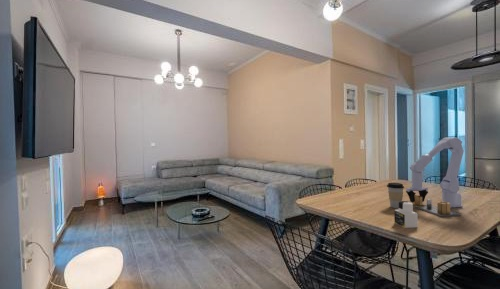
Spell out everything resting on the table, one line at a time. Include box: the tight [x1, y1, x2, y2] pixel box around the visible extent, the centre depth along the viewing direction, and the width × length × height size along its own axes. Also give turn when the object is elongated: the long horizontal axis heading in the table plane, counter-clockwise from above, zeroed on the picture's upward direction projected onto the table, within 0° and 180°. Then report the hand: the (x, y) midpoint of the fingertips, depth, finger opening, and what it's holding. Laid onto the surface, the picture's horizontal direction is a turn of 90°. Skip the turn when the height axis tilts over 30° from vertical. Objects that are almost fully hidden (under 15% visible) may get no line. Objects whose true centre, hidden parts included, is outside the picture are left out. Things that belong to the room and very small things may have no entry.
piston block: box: [413, 198, 462, 218], centre depth 138 cm, size 12×18×6 cm, turn 9°
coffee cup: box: [386, 182, 405, 209], centre depth 148 cm, size 9×9×15 cm
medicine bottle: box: [393, 200, 419, 229], centre depth 117 cm, size 7×7×12 cm
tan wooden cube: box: [411, 194, 423, 206], centre depth 153 cm, size 6×6×6 cm
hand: (417, 201), depth 153 cm, fingers open, 7 cm apart
